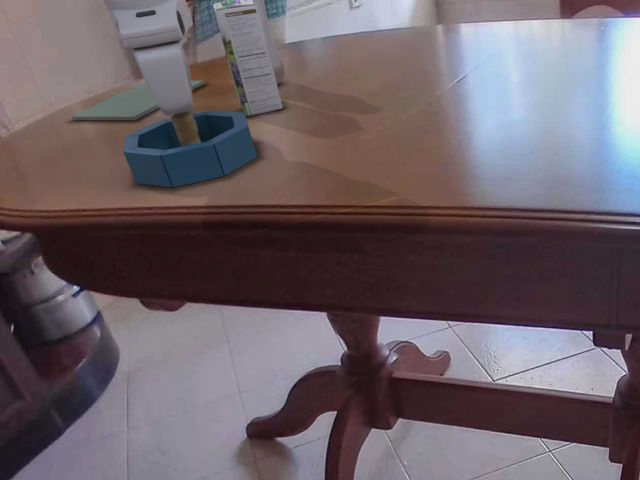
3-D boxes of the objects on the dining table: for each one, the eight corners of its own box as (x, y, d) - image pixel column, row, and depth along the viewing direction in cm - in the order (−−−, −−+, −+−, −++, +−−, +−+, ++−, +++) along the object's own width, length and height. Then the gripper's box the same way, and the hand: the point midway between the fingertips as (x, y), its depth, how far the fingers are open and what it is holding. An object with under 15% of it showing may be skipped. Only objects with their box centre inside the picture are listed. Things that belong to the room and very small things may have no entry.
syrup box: (241, 107, 106) (209, 3, 98) (279, 99, 108) (252, -4, 99) (245, 117, 102) (212, 9, 93) (285, 109, 103) (256, 1, 95)
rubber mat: (135, 120, 106) (133, 116, 106) (73, 120, 110) (71, 116, 109) (204, 83, 120) (203, 80, 119) (147, 84, 123) (146, 81, 123)
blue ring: (134, 196, 81) (120, 163, 79) (139, 156, 93) (127, 126, 90) (260, 168, 85) (250, 136, 82) (250, 133, 96) (241, 103, 94)
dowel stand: (164, 180, 85) (145, 131, 81) (165, 159, 91) (147, 112, 87) (231, 165, 87) (215, 117, 83) (227, 145, 93) (212, 99, 89)
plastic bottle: (294, 79, 117) (259, -59, 105) (277, 91, 111) (239, -52, 99) (258, 80, 118) (220, -55, 106) (240, 93, 113) (198, -48, 101)
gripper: (128, 7, 91) (167, 113, 100) (118, 36, 76) (166, 159, 84) (177, -1, 93) (212, 103, 101) (178, 26, 77) (220, 147, 85)
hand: (191, 129), depth 92 cm, fingers closed on blue ring, 2 cm apart
